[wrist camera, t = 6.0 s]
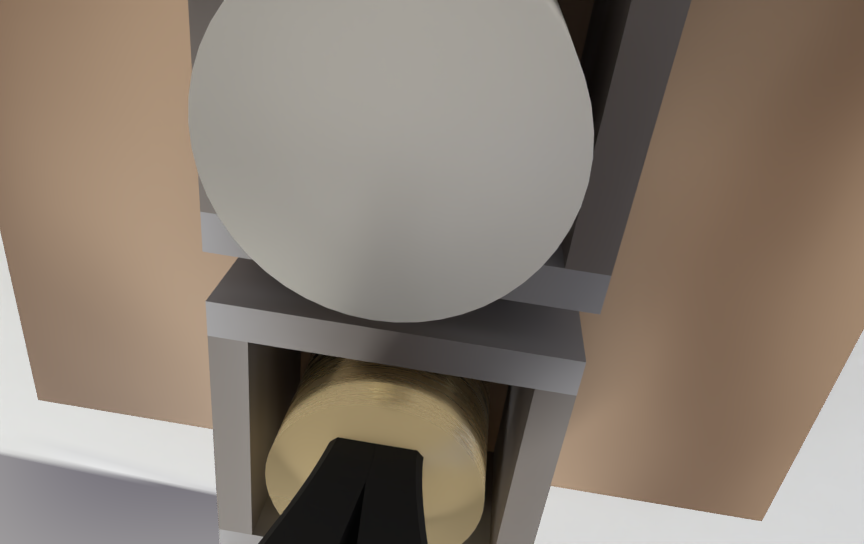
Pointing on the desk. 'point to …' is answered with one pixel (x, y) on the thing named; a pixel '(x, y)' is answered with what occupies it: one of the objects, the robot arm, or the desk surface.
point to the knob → (391, 433)
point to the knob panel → (500, 320)
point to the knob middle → (393, 146)
